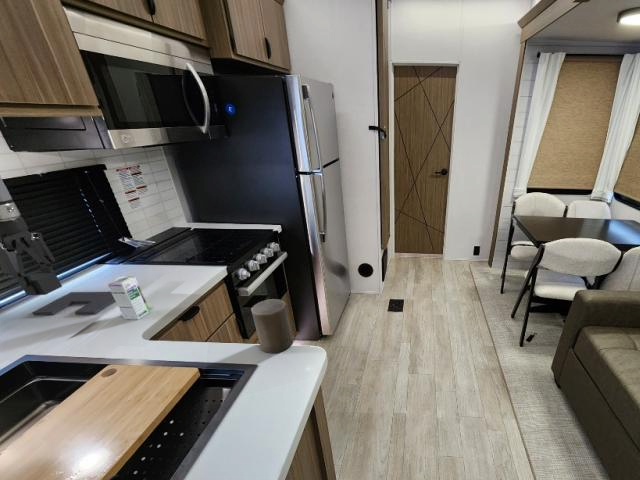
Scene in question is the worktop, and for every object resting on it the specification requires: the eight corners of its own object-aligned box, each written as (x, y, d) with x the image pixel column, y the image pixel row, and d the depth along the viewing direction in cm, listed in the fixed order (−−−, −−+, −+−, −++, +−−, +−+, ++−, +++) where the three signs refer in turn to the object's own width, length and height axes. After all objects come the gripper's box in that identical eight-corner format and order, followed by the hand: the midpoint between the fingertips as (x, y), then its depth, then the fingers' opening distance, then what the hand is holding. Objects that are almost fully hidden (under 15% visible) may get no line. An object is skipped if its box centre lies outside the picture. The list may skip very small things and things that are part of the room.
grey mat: (35, 318, 119) (32, 312, 118) (73, 297, 133) (70, 292, 132) (96, 317, 119) (93, 311, 118) (128, 296, 133) (125, 291, 132)
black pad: (26, 294, 104) (17, 280, 102) (44, 286, 110) (36, 272, 107) (45, 294, 104) (37, 280, 102) (62, 286, 109) (55, 272, 107)
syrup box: (138, 320, 118) (122, 283, 111) (123, 319, 118) (106, 282, 111) (150, 311, 123) (135, 276, 116) (136, 311, 123) (120, 275, 116)
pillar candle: (295, 348, 102) (286, 306, 94) (261, 357, 98) (250, 313, 91) (291, 332, 109) (283, 292, 102) (259, 339, 106) (249, 298, 99)
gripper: (-21, 228, 87) (26, 304, 98) (47, 211, 104) (81, 277, 115) (-49, 228, 87) (1, 304, 98) (23, 211, 104) (59, 277, 115)
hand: (44, 289), depth 107 cm, fingers closed on black pad, 6 cm apart
